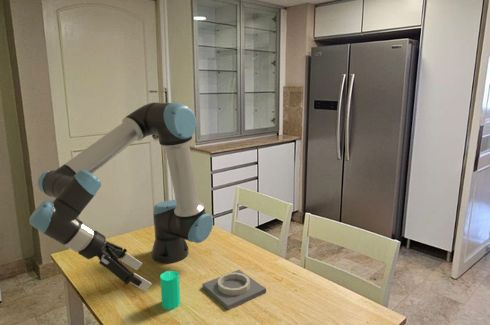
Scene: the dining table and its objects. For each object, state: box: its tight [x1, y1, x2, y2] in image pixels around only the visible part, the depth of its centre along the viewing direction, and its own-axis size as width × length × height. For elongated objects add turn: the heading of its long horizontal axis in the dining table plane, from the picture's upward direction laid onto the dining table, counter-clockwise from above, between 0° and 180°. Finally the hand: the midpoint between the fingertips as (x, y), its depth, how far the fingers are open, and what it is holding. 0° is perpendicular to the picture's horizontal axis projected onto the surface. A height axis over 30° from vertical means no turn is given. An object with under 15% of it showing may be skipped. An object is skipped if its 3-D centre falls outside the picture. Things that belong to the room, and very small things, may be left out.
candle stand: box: [201, 269, 267, 310], centre depth 123 cm, size 16×16×4 cm
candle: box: [159, 270, 181, 311], centre depth 115 cm, size 6×6×12 cm
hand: (143, 276), depth 109 cm, fingers open, 13 cm apart
